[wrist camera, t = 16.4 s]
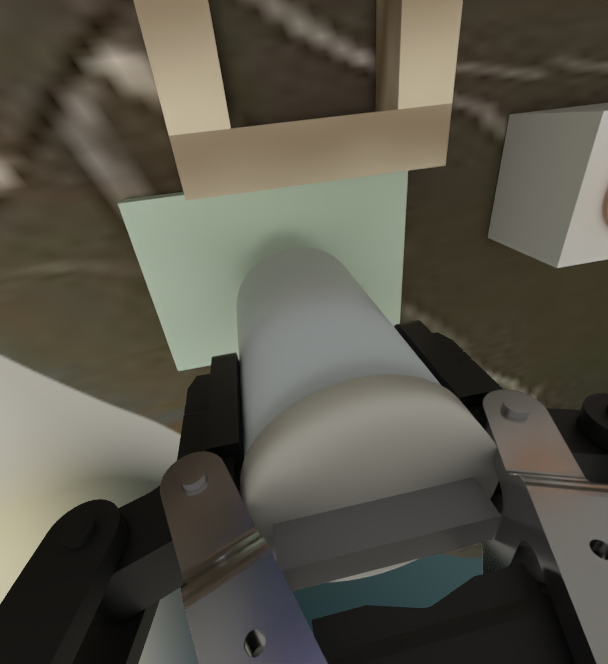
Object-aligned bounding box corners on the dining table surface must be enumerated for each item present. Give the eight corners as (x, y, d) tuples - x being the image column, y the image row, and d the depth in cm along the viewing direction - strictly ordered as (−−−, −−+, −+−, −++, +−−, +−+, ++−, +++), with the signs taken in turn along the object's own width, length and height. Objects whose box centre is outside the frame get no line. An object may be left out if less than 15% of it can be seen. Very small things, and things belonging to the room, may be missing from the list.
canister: (358, 235, 13) (569, 420, 5) (359, 347, 16) (497, 585, 8) (221, 255, 13) (210, 500, 5) (246, 368, 16) (267, 648, 7)
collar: (418, 160, 17) (445, 165, 15) (191, 190, 16) (186, 200, 14) (444, -212, 11) (493, -289, 9) (92, -207, 10) (56, -294, 8)
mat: (392, 322, 22) (399, 330, 21) (180, 361, 20) (178, 371, 20) (399, 163, 17) (408, 165, 16) (123, 199, 16) (117, 203, 15)
